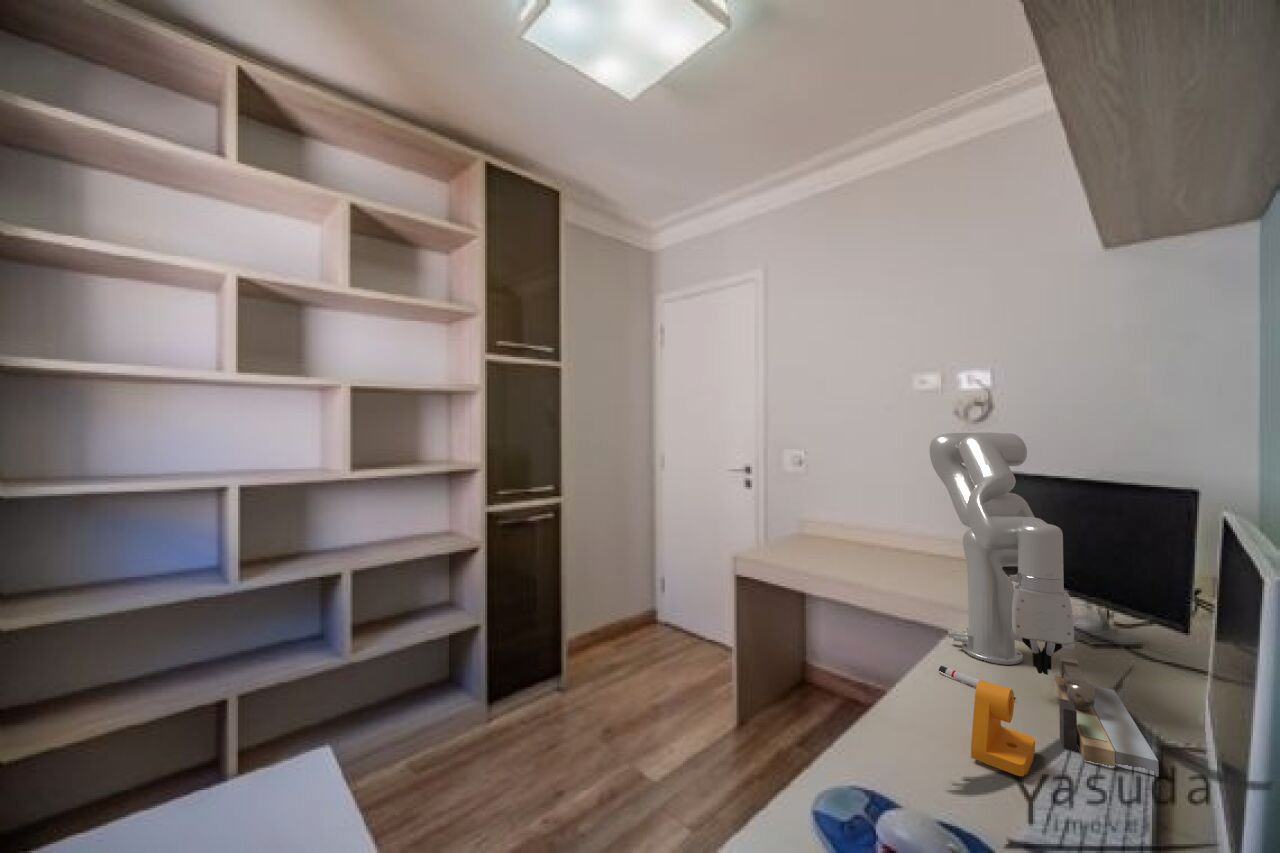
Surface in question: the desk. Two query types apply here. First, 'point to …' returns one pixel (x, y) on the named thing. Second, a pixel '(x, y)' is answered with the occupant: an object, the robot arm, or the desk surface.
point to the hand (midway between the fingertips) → (1042, 671)
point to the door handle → (1076, 683)
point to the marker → (960, 676)
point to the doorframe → (1103, 730)
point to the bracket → (999, 731)
